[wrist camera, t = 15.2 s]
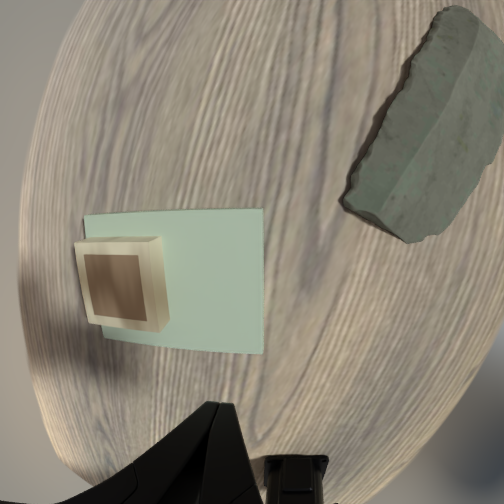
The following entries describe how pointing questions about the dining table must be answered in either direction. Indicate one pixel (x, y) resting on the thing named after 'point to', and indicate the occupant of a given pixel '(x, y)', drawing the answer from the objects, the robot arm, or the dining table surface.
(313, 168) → the dining table surface
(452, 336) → the dining table surface
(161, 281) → the beige flat box
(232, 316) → the mat
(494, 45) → the stone slab
